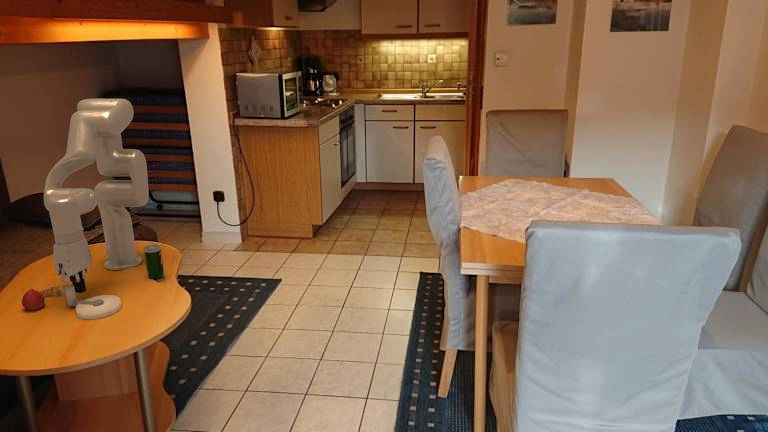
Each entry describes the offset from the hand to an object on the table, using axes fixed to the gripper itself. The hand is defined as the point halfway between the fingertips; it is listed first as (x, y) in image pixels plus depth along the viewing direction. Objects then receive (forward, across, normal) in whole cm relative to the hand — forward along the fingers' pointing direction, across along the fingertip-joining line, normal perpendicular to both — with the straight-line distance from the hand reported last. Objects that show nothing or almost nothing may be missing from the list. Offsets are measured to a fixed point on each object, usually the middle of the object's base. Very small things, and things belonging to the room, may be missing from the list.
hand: (80, 291), depth 168 cm
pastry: (+5, -3, -13) cm, 14 cm away
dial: (+3, +4, +7) cm, 8 cm away
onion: (+5, +7, -11) cm, 14 cm away
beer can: (+5, -23, +10) cm, 25 cm away
